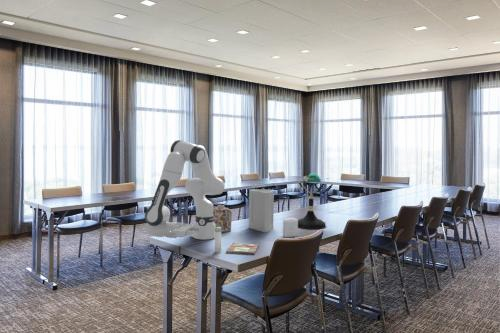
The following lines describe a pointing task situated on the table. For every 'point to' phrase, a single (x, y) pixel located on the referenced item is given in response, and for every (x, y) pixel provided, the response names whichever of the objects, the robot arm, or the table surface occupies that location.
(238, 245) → the picture board
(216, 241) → the marker
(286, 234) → the photo printer
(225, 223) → the decorative jar
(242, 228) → the table surface
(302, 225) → the banker's lamp
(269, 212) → the paper bag
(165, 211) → the robot arm
